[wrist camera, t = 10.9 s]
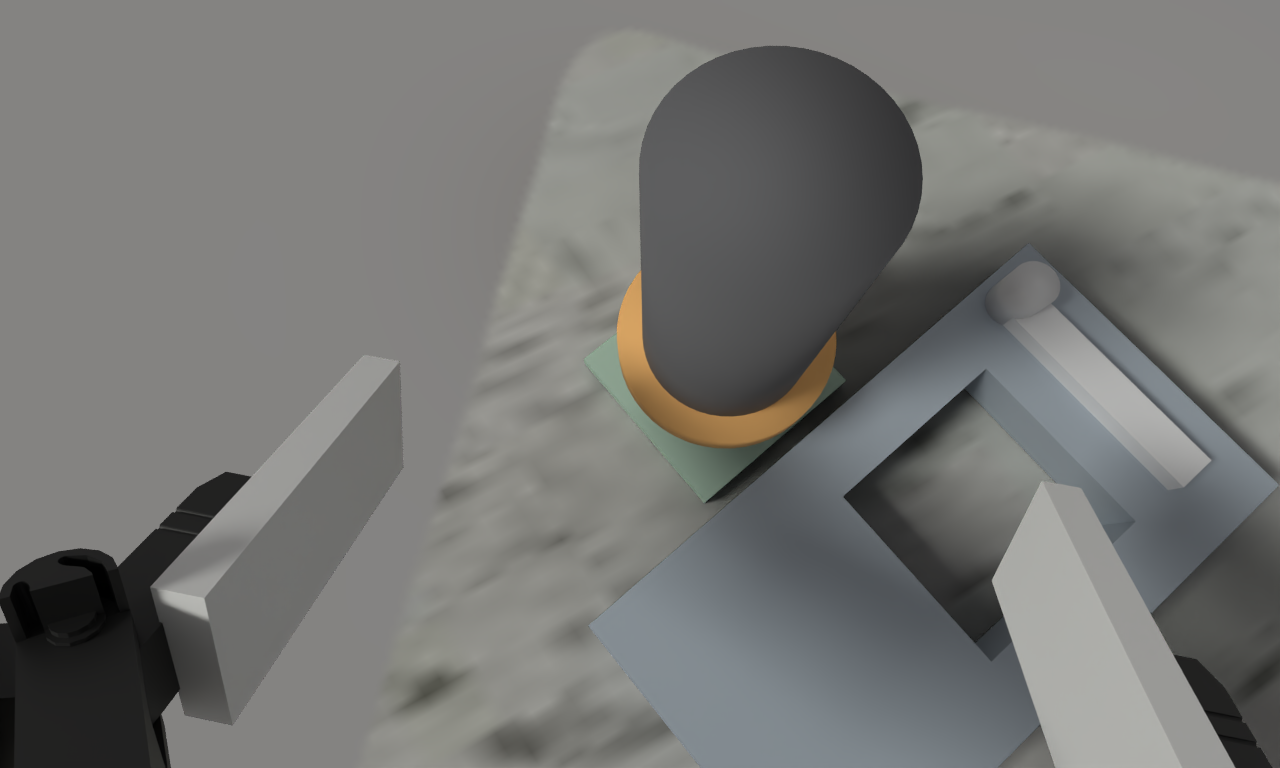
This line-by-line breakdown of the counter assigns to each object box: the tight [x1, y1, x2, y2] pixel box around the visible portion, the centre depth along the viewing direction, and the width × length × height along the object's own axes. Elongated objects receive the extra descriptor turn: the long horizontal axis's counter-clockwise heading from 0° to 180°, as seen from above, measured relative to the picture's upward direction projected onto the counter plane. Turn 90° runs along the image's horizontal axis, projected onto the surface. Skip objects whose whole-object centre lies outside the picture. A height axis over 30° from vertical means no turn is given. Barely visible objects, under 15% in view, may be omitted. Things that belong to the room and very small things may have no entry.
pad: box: [584, 333, 846, 503], centre depth 26 cm, size 6×6×1 cm
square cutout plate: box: [589, 243, 1279, 768], centre depth 23 cm, size 10×18×4 cm, turn 130°
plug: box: [617, 46, 923, 449], centre depth 19 cm, size 6×6×13 cm
